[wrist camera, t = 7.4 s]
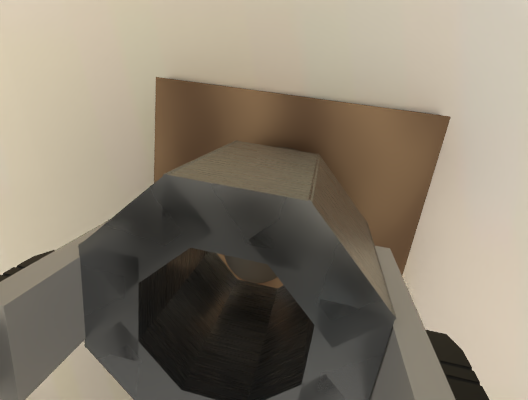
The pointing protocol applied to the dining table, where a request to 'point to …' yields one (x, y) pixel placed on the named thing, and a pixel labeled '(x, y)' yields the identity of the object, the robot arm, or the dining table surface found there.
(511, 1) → the dining table surface
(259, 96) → the shaft stand
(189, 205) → the ring
